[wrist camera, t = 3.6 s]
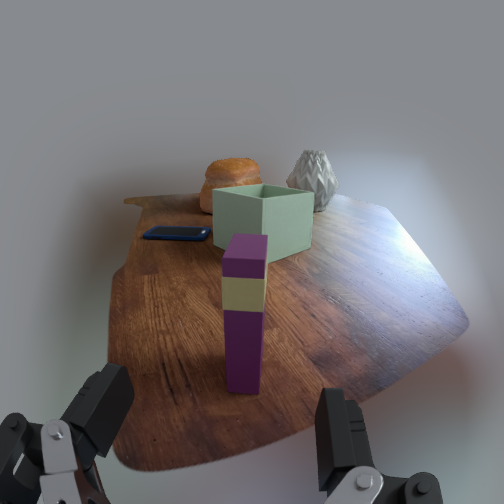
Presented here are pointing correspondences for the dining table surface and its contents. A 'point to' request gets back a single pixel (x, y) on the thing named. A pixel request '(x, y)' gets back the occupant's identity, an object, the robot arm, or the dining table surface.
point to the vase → (314, 178)
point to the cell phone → (177, 233)
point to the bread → (227, 178)
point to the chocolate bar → (244, 310)
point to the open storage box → (264, 217)
